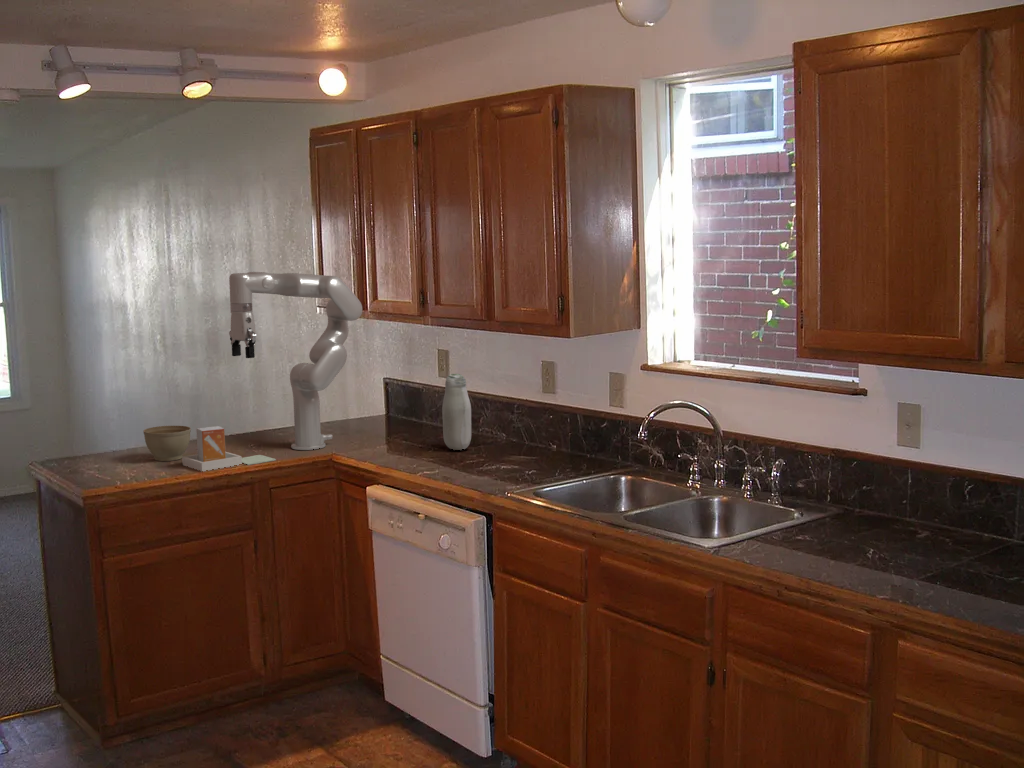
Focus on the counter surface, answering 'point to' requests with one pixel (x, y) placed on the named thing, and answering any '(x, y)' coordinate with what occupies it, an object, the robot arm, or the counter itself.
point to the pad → (256, 459)
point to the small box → (210, 443)
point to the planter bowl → (167, 441)
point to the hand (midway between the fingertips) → (243, 356)
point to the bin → (211, 462)
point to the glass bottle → (456, 413)
